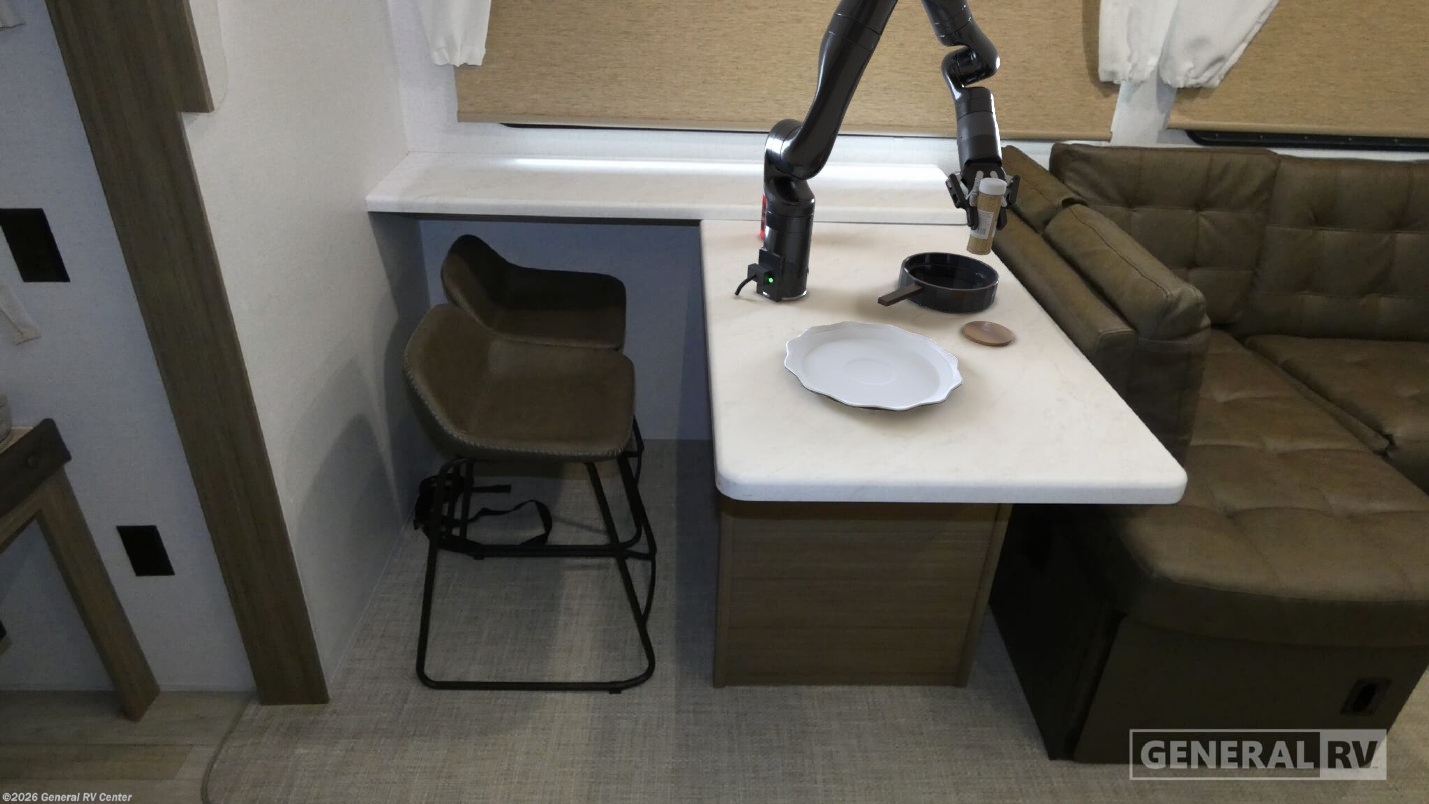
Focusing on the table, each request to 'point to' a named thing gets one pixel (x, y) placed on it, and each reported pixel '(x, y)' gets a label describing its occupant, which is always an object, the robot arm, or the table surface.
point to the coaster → (988, 333)
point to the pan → (949, 281)
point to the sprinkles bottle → (986, 215)
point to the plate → (872, 366)
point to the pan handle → (900, 295)
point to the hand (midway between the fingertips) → (988, 228)
